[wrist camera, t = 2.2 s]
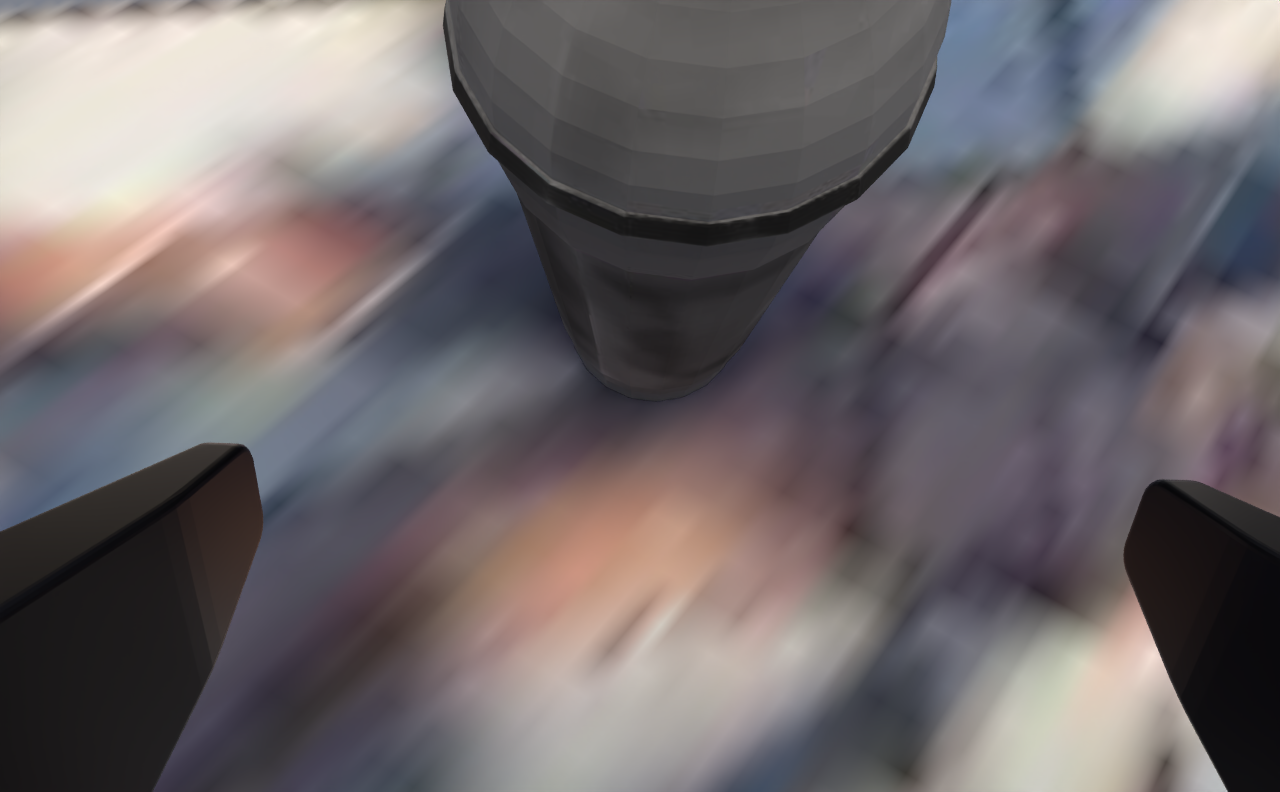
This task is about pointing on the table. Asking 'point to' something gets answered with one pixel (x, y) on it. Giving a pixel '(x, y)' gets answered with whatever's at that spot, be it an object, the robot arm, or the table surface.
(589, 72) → the beverage cup
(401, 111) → the table surface
